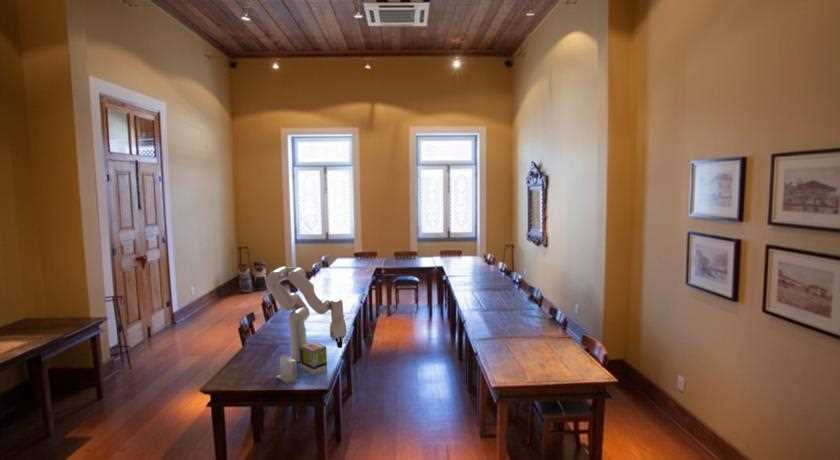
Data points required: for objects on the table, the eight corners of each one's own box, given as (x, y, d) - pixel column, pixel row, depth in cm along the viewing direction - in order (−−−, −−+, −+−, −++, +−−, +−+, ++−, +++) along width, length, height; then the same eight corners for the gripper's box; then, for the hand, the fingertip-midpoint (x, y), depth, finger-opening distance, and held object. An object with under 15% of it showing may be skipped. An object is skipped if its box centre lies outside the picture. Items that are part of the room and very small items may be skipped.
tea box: (327, 370, 274) (326, 346, 272) (313, 375, 267) (311, 351, 265) (314, 363, 285) (313, 340, 283) (299, 368, 278) (298, 344, 276)
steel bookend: (276, 378, 264) (275, 358, 262) (285, 375, 268) (284, 355, 267) (287, 384, 256) (286, 363, 255) (297, 380, 260) (296, 360, 259)
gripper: (343, 315, 295) (345, 342, 297) (324, 321, 284) (326, 349, 286) (350, 316, 290) (352, 344, 292) (331, 323, 279) (334, 352, 281)
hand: (339, 347), depth 289 cm, fingers closed
